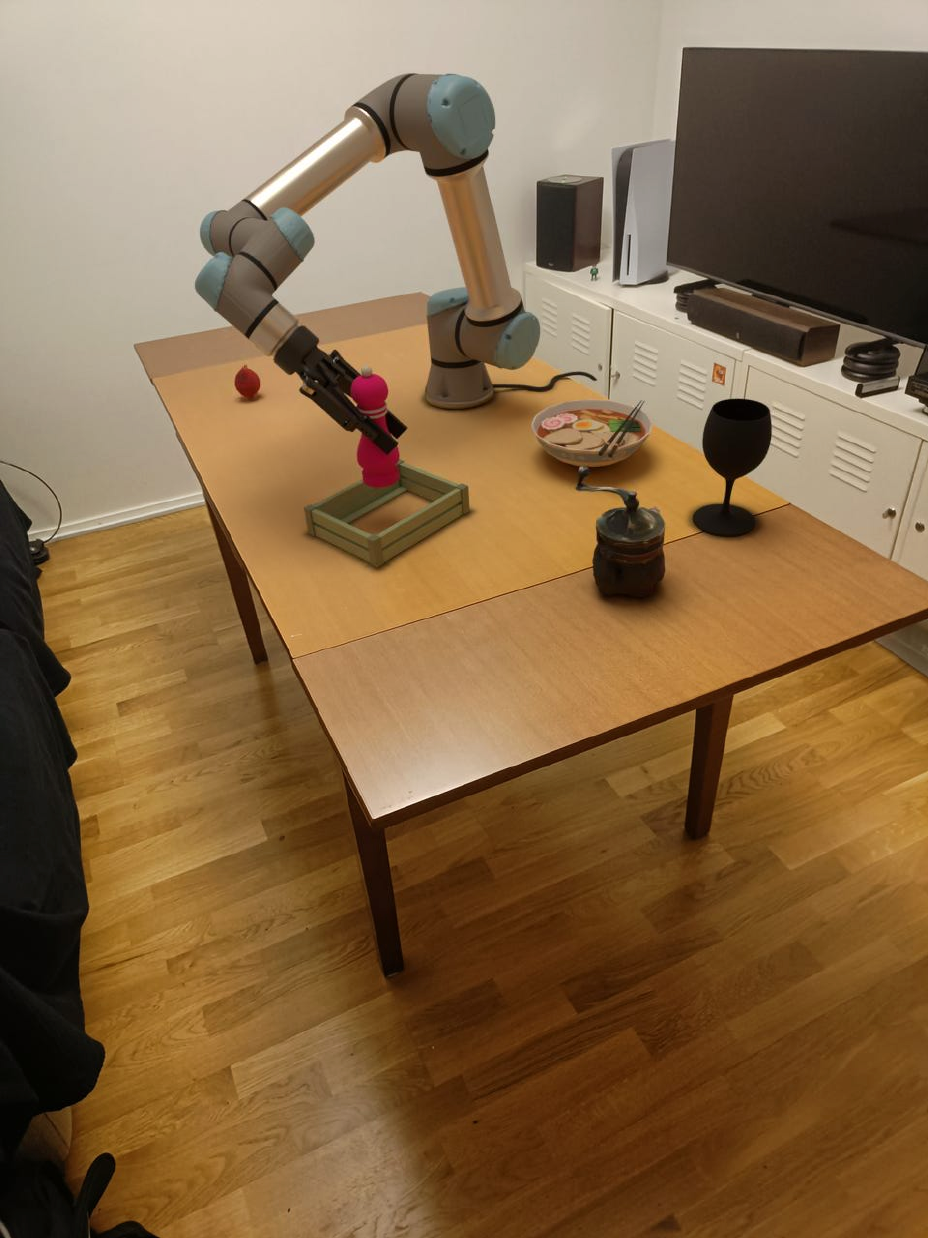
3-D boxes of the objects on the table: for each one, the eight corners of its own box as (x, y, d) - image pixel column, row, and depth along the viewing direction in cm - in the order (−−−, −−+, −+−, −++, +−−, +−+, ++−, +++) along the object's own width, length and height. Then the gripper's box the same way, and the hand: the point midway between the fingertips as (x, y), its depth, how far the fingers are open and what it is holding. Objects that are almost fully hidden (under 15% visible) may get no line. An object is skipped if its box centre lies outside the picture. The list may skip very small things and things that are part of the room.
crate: (401, 483, 160) (398, 458, 157) (469, 511, 150) (468, 485, 147) (308, 533, 147) (303, 507, 144) (377, 568, 138) (373, 541, 134)
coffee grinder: (587, 553, 138) (591, 452, 127) (675, 575, 131) (687, 471, 120) (553, 594, 129) (554, 489, 118) (645, 620, 123) (655, 512, 112)
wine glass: (757, 509, 145) (777, 398, 133) (753, 540, 138) (774, 426, 126) (696, 502, 148) (710, 393, 136) (688, 532, 141) (702, 420, 129)
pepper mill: (360, 471, 147) (343, 359, 135) (401, 467, 148) (388, 355, 135) (360, 491, 142) (342, 376, 129) (403, 487, 142) (389, 372, 130)
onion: (257, 403, 195) (250, 370, 190) (234, 402, 196) (226, 369, 191) (267, 393, 199) (260, 360, 194) (244, 392, 200) (236, 359, 195)
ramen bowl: (557, 424, 177) (558, 386, 172) (665, 440, 168) (669, 401, 163) (510, 477, 159) (509, 438, 154) (627, 498, 151) (630, 457, 146)
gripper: (294, 337, 142) (398, 431, 148) (250, 379, 128) (368, 481, 135) (318, 305, 137) (425, 403, 144) (276, 345, 124) (396, 452, 130)
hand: (397, 441), depth 139 cm, fingers closed on pepper mill, 5 cm apart
